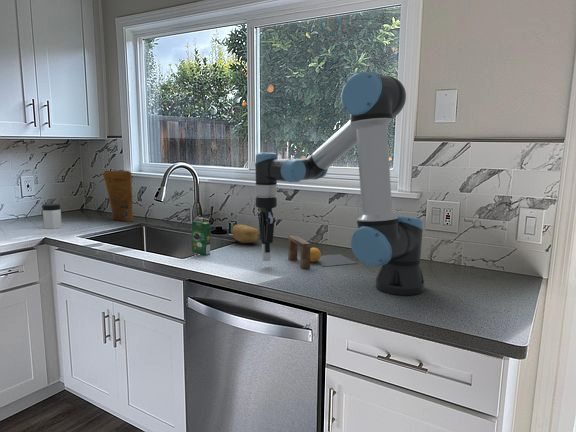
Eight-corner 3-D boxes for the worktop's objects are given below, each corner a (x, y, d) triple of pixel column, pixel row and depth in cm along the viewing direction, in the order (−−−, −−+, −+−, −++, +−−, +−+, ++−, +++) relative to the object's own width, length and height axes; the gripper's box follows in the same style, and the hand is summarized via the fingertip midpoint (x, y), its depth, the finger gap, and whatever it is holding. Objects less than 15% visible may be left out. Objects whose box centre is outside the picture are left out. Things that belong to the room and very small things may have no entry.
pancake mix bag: (129, 222, 244) (126, 171, 240) (104, 219, 253) (101, 170, 248) (138, 220, 250) (136, 170, 246) (113, 218, 259) (111, 169, 254)
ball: (312, 265, 167) (325, 260, 169) (308, 252, 166) (321, 246, 168) (306, 262, 172) (318, 256, 174) (302, 249, 171) (314, 244, 173)
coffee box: (211, 254, 180) (210, 222, 177) (206, 255, 177) (205, 223, 175) (196, 251, 184) (196, 220, 182) (191, 252, 182) (191, 221, 179)
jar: (55, 225, 235) (53, 202, 233) (65, 226, 231) (64, 203, 229) (39, 228, 227) (37, 204, 225) (49, 229, 223) (47, 206, 221)
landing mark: (357, 263, 169) (357, 263, 169) (323, 266, 164) (323, 266, 164) (340, 254, 182) (340, 254, 182) (308, 257, 177) (308, 256, 177)
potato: (248, 247, 192) (248, 229, 191) (227, 242, 201) (226, 224, 200) (264, 243, 199) (264, 226, 198) (242, 238, 208) (242, 222, 207)
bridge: (295, 258, 175) (295, 235, 174) (310, 268, 162) (310, 243, 160) (288, 258, 174) (288, 235, 172) (302, 269, 161) (302, 244, 159)
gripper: (282, 198, 154) (281, 264, 158) (270, 193, 166) (270, 255, 170) (261, 198, 152) (261, 266, 155) (251, 194, 164) (251, 257, 167)
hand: (266, 260), depth 163 cm, fingers closed
